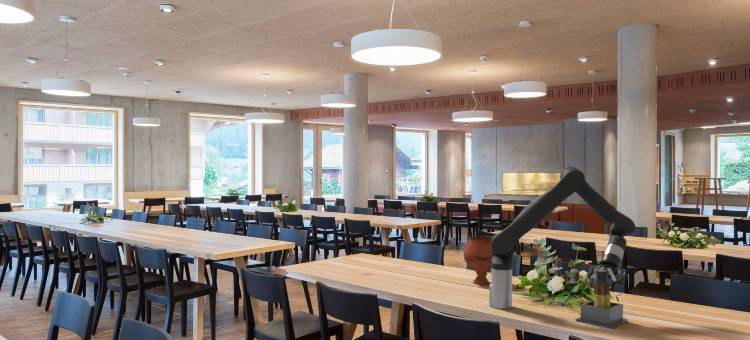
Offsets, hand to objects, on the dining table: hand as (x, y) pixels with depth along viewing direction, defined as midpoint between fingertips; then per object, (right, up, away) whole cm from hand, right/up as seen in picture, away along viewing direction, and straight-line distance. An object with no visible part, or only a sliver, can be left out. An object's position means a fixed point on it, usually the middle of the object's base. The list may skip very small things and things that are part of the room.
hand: (600, 289), depth 225 cm
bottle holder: (+1, -13, +1) cm, 13 cm away
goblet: (-34, -13, +77) cm, 85 cm away
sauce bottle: (+1, -13, +1) cm, 13 cm away
